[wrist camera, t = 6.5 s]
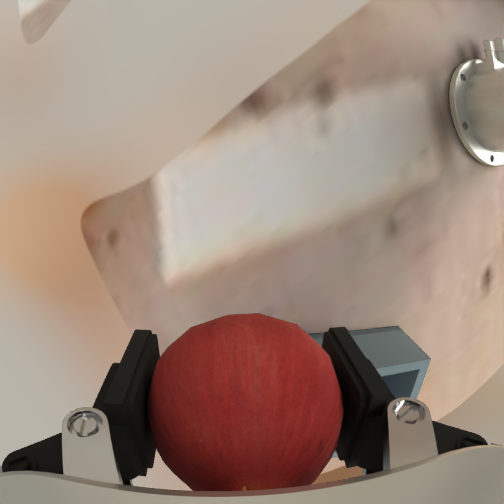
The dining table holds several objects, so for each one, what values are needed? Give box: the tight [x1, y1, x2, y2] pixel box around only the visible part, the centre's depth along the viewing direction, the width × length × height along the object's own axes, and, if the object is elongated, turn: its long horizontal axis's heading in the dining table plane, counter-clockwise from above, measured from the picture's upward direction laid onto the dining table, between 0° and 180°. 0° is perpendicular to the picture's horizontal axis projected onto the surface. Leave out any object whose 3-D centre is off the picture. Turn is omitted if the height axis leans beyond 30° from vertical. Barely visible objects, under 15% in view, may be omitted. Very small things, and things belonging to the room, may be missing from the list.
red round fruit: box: [147, 313, 344, 491], centre depth 9 cm, size 6×6×8 cm
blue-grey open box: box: [308, 326, 431, 457], centre depth 30 cm, size 12×18×7 cm, turn 88°
